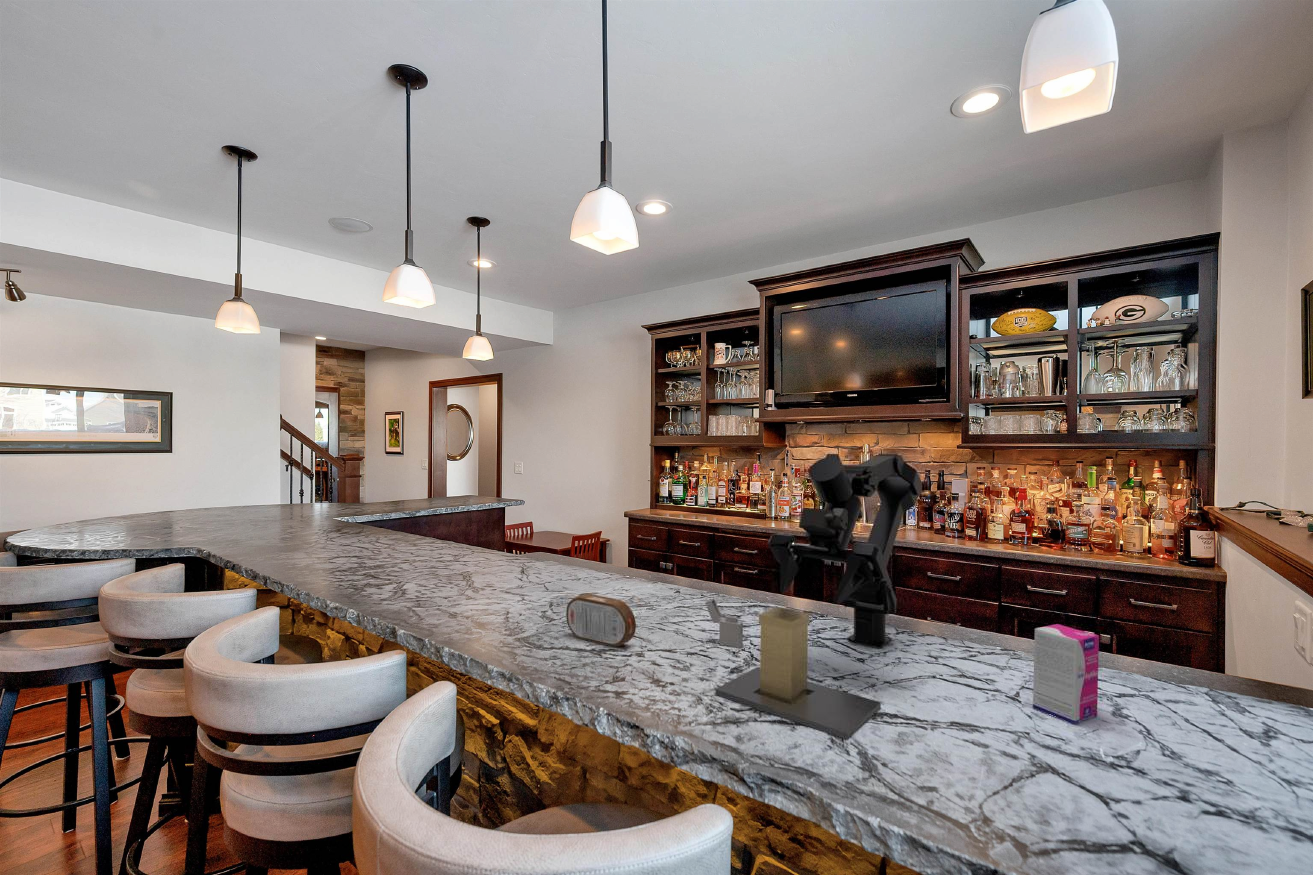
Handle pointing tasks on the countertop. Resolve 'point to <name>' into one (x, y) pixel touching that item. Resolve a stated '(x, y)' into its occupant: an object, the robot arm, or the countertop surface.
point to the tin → (601, 619)
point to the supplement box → (1066, 673)
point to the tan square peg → (784, 655)
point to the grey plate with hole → (806, 705)
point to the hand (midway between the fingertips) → (808, 597)
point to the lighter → (726, 626)
